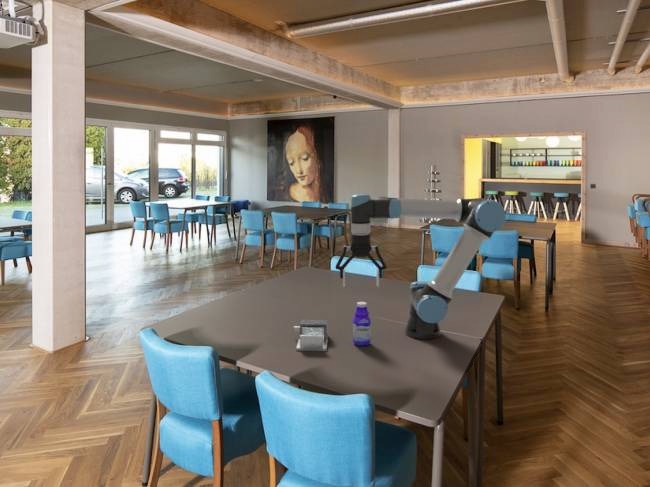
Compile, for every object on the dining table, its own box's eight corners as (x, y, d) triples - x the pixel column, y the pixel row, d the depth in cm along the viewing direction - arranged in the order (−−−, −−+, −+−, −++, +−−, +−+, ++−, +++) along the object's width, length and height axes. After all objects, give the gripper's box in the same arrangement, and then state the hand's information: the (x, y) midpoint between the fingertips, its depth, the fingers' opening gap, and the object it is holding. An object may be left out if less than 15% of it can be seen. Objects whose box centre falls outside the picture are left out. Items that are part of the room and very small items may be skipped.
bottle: (355, 347, 195) (355, 305, 192) (350, 342, 201) (351, 301, 198) (372, 345, 197) (373, 304, 194) (367, 340, 203) (368, 300, 200)
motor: (328, 335, 208) (328, 320, 207) (327, 340, 202) (327, 324, 201) (294, 335, 209) (294, 319, 208) (293, 340, 203) (292, 324, 202)
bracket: (327, 341, 202) (327, 327, 201) (326, 351, 191) (326, 336, 190) (298, 340, 202) (298, 326, 201) (296, 350, 192) (296, 335, 191)
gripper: (391, 232, 195) (391, 283, 198) (329, 232, 196) (330, 283, 199) (393, 234, 188) (393, 288, 191) (329, 235, 188) (329, 288, 192)
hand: (360, 286), depth 195 cm, fingers open, 13 cm apart
